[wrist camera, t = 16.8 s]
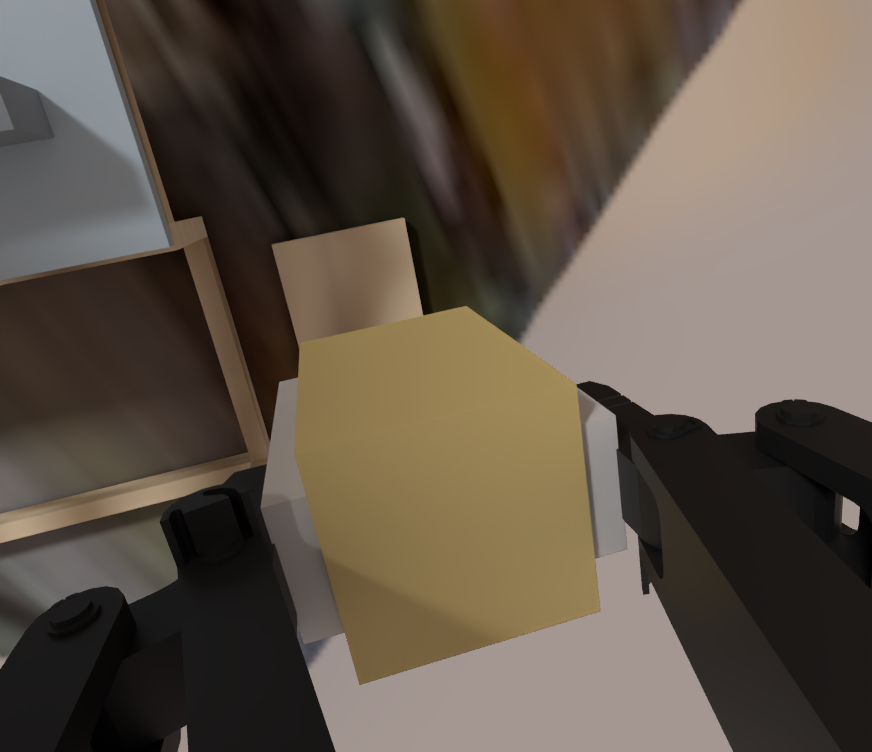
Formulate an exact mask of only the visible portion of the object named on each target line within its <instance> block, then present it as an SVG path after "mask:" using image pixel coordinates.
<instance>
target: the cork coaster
mask: <svg viewBox="0 0 872 752" xmlns="http://www.w3.org/2000/svg"><path fill="white" fill-rule="evenodd" d="M272 249H273V253H274V256H275V260H276V264H277V268H278V271H279V275H280V279H281V282H282V286H283V290H284V294H285V297H286V301H287V305H288V309H289V312H290V316H291V320H292V323H293V327H294V331H295V335H296V338H297V342H298V346H299V350H300V343H302V342H307V341H311V340H316V339H320V338H325V337H329V336H334V335H338V334H343V333H347V332H352V331H356V330H361V329H365V328H370V327H374V326H379V325H383V324H388V323H392V322H397V321H401V320H406V319H410V318H415V317H419V316H423V312H422V307H421V302H420V296H419V291H418V286H417V281H416V276H415V270H414V265H413V260H412V255H411V250H410V244H409V239H408V234H407V229H406V223H405V218H399V219H394V220H389V221H384V222H379V223H374V224H369V225H364V226H359V227H354V228H349V229H344V230H339V231H334V232H329V233H324V234H319V235H314V236H309V237H304V238H299V239H295V240H290V241H285V242H280V243H275V244H272Z"/></svg>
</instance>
